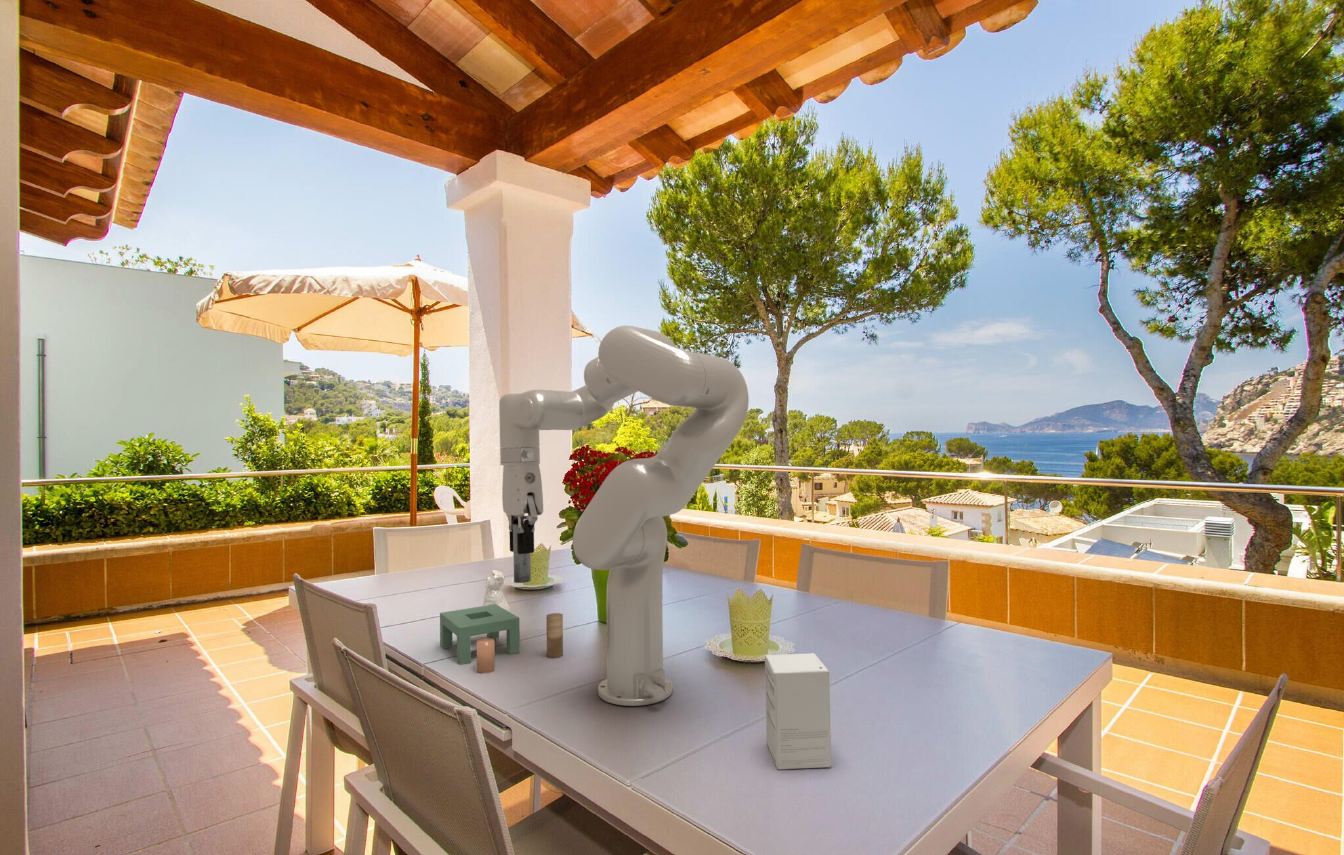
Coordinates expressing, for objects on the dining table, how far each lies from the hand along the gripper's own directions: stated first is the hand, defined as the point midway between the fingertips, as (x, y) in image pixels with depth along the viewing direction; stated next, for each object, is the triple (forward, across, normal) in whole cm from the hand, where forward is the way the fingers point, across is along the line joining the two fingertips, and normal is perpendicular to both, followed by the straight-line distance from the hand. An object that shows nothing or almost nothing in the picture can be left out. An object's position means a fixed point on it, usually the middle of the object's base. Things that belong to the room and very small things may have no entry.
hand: (521, 551), depth 127 cm
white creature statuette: (+21, +35, -6) cm, 41 cm away
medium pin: (+22, +1, -7) cm, 23 cm away
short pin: (+22, +1, +7) cm, 23 cm away
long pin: (+6, 0, 0) cm, 6 cm away
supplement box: (+23, -57, -16) cm, 64 cm away
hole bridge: (+21, +14, +4) cm, 26 cm away
